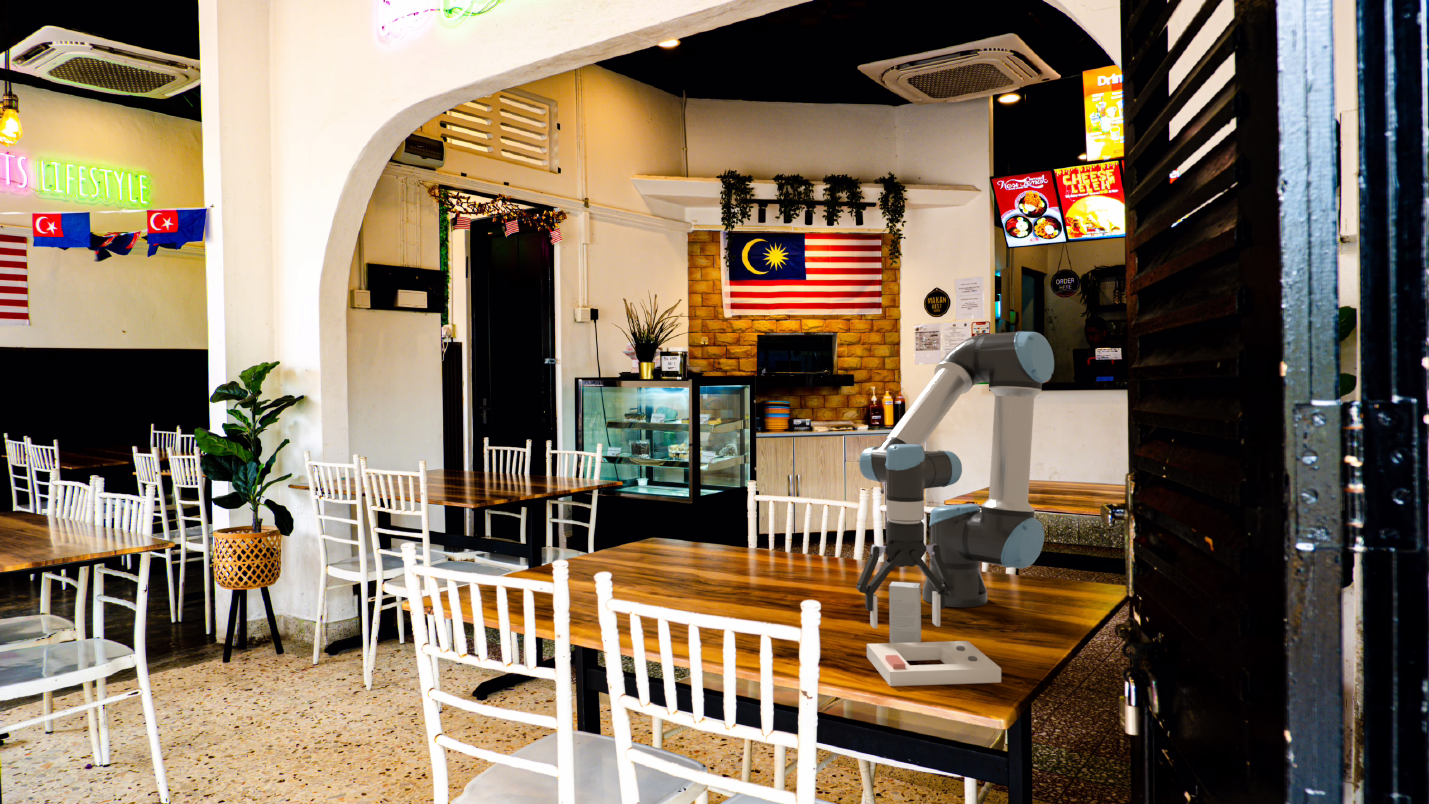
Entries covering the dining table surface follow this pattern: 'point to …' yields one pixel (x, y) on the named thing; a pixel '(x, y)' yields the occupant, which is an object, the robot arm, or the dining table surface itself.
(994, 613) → the dining table surface
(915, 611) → the skincare box
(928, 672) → the socket plate
